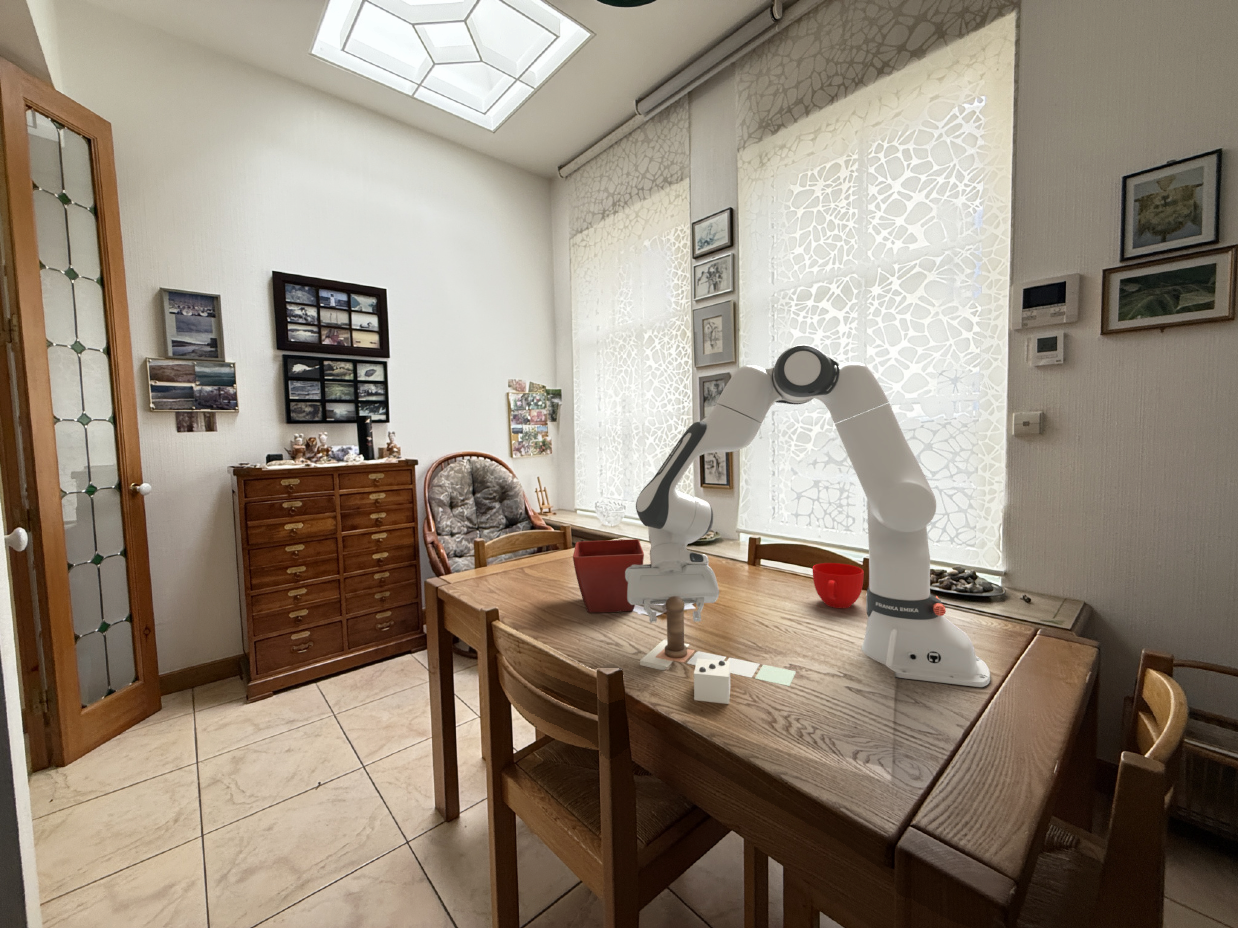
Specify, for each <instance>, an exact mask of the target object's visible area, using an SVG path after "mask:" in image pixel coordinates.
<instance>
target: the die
mask: <svg viewBox="0 0 1238 928" xmlns="http://www.w3.org/2000/svg"><path fill="white" fill-rule="evenodd" d="M693 690H694V691H693V692H694V694H693V695H694V697H693V699H694V701H697V702H698V701H700V702H707V703H708V702H709V703H716V704H725V705H730V697H731V673H730V661H727V660H724V661H720V660H709V659H698V658H697V662H696V665H695V668H694V671H693Z"/></svg>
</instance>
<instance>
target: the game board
mask: <svg viewBox="0 0 1238 928" xmlns="http://www.w3.org/2000/svg"><path fill="white" fill-rule="evenodd" d="M666 645H667V639H665V638H664V639H663V640H661V641H660V642H659V643H658V644H657V645H656V646H655V647H654V648H652V650H650V651H649V652H648V653H647V654H646V655H644V656H643V657H642V658H641V659H640V660H639V665H640V666H644V667H647V668H651V669H656V670H659V671H663V672H664V671H665V670H666V669H667V668H668V667H669V666H670V665H672V663H673V662H677V663H685V662H686V661H687V660H688V659H689V658H690V659H689V660H688V661H687V662H686V664H687V665H692V666H696V662H697V658H698V659H709V660H720V661H730V674H733V675H737V676H743V677H746V678H751V679H752V678H753V677H754V675H755V673H756V672H757V670H758V669H759V667H760V665H761V663H758V662H757V663H756V662H753V661H748V660H743V659H739V658H738V659H737V658H733V657H728V659H727V660H726V658H727V656H723V655H720V654H719V655H718V654H714V653H709V652H704V651H700V650H698V651H696V650H694V649H689V648H688V647H689V646H690V644H689V643H685V642H684V645H685V646H686V647H687V656H685V657H683V658H670V657H667V656H666V655H665V646H666ZM695 651H696V652H695ZM694 652H695V653H694ZM692 655H693V656H692ZM691 656H692V657H691ZM796 673H797V671H795V670H790V669H787V668H783V667H782V668H781V667H776V666H774V665H773V666H772V665H767V664H762V666H761V667H760V669H759V671H758V672H757V674H756V676H755V677H754V679H755V680H761V681H763V682H764V681H765V682H769V683H773V684H777V685H783V686H785V687H786V686H787V687H791V684H792V682H793V679H794V678H795V675H796Z"/></svg>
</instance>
